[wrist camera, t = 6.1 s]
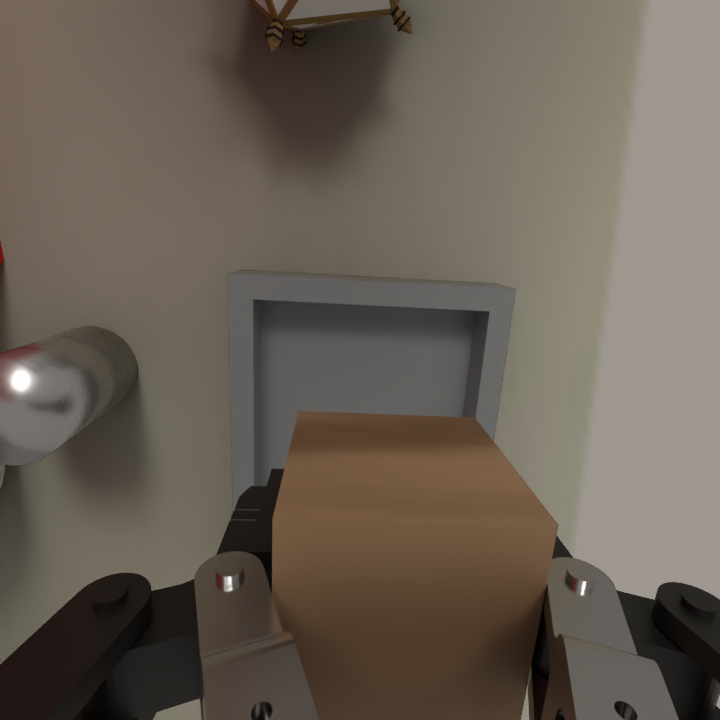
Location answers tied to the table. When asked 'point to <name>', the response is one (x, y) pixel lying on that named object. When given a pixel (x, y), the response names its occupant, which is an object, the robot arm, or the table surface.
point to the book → (1, 255)
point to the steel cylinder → (60, 389)
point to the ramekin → (2, 473)
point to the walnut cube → (408, 567)
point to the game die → (323, 16)
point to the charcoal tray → (356, 355)
